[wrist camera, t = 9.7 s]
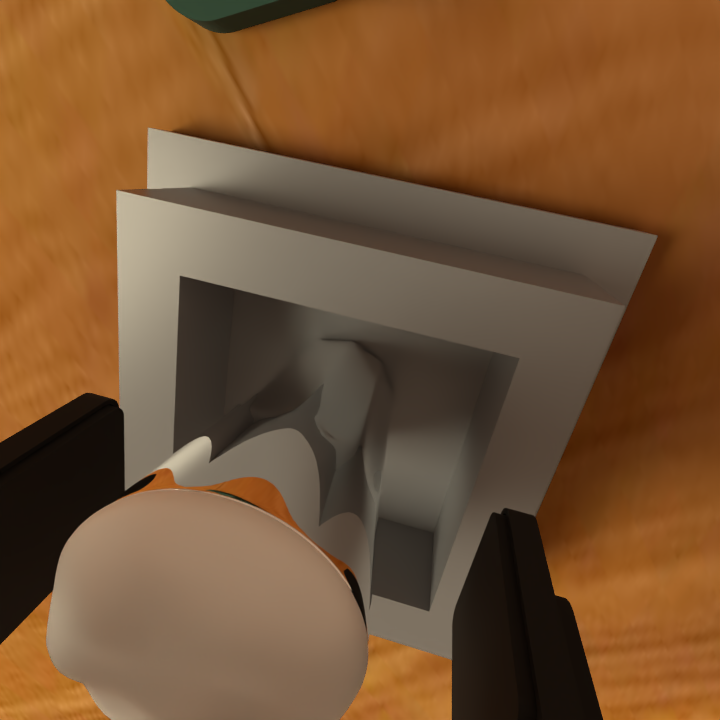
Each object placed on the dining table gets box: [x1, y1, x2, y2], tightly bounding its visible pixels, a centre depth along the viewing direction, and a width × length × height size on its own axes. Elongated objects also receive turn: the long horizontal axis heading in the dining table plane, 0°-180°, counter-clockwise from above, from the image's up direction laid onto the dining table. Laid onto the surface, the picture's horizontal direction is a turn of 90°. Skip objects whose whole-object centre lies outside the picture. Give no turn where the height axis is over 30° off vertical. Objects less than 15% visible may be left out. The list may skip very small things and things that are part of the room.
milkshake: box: [46, 340, 393, 720], centre depth 10 cm, size 4×5×10 cm
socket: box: [116, 128, 658, 660], centre depth 13 cm, size 13×13×4 cm
